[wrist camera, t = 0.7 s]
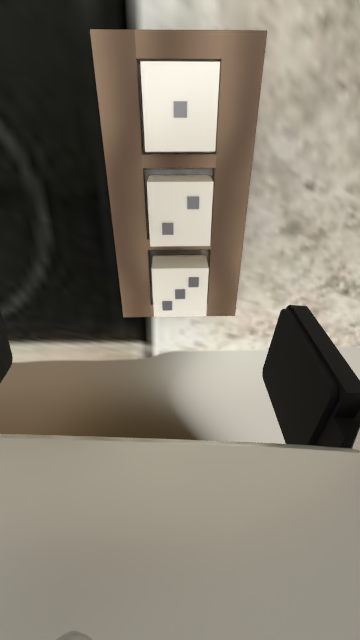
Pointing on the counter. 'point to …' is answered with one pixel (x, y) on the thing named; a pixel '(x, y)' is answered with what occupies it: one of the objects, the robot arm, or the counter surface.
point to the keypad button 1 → (180, 105)
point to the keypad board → (129, 160)
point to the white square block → (180, 285)
